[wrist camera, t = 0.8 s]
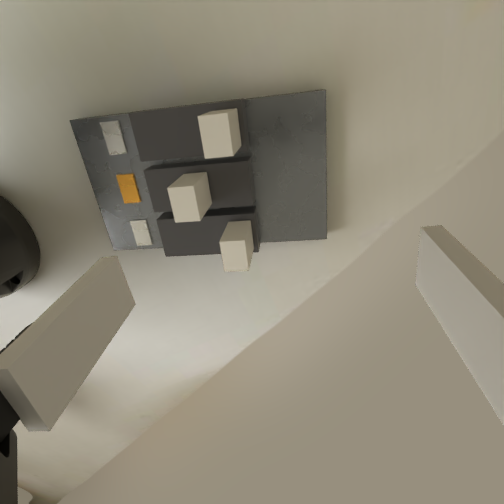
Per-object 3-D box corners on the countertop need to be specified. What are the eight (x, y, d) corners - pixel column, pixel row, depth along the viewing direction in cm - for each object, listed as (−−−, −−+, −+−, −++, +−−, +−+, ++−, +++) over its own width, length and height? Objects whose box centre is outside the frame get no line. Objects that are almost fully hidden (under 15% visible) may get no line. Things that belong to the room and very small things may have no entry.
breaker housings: (171, 248, 36) (148, 280, 30) (137, 111, 30) (99, 118, 24) (260, 243, 35) (253, 276, 29) (244, 98, 28) (231, 102, 23)
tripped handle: (190, 204, 31) (175, 222, 27) (183, 173, 30) (167, 188, 26) (212, 203, 31) (200, 221, 27) (206, 171, 30) (193, 185, 26)
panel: (120, 244, 39) (113, 251, 37) (78, 118, 32) (68, 120, 31) (325, 233, 35) (326, 239, 34) (324, 89, 29) (326, 89, 27)
